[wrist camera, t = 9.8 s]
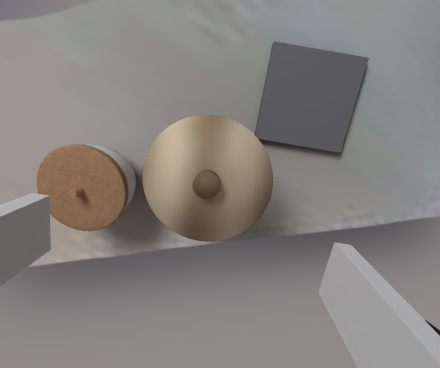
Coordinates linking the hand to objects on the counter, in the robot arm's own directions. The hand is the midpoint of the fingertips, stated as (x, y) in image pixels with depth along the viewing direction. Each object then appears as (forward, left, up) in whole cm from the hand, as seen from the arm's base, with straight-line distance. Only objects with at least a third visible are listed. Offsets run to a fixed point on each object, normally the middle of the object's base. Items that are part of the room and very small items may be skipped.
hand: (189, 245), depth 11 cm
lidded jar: (+15, +5, -25) cm, 29 cm away
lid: (0, 0, -14) cm, 14 cm away
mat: (-11, -10, -25) cm, 29 cm away
